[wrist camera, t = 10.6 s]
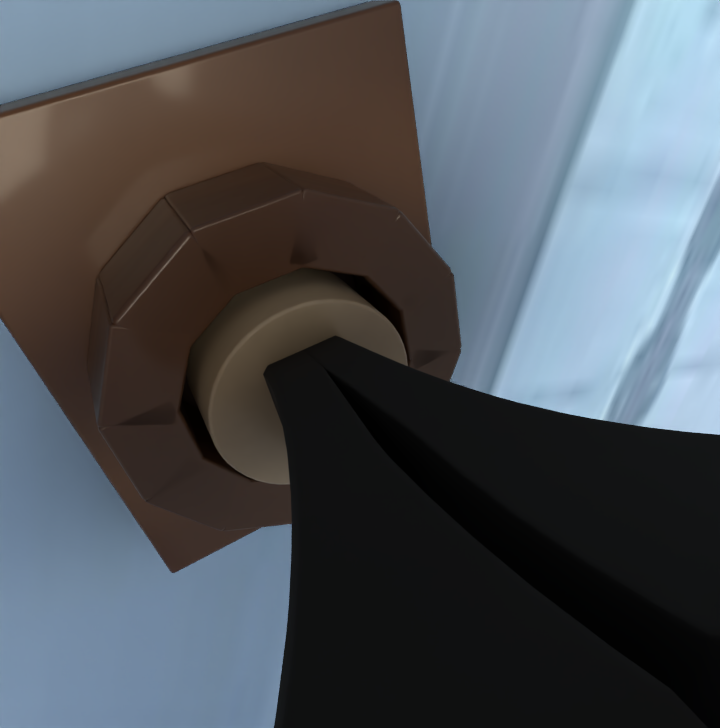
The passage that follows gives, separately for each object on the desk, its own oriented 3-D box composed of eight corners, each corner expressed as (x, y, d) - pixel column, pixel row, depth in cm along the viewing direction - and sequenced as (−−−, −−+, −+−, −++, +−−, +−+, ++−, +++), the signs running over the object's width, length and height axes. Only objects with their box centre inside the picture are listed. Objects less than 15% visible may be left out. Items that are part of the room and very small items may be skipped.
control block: (436, 407, 16) (503, 472, 14) (164, 545, 14) (191, 647, 12) (374, -1, 10) (471, -4, 8) (-105, 133, 8) (-155, 179, 6)
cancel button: (379, 385, 13) (421, 429, 11) (223, 459, 12) (249, 518, 10) (344, 232, 10) (391, 265, 9) (151, 309, 9) (171, 357, 8)
